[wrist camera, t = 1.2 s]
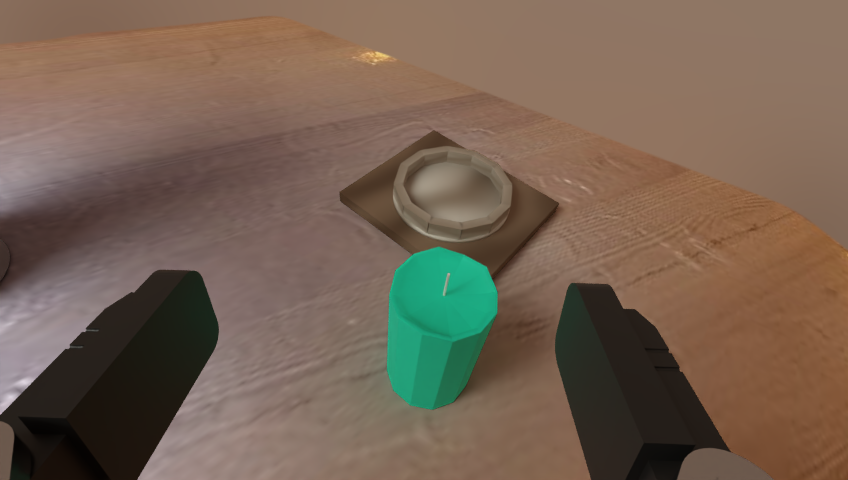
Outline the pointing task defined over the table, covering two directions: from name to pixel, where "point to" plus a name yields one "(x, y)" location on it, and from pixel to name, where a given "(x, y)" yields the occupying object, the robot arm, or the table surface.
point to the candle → (437, 325)
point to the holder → (450, 202)
